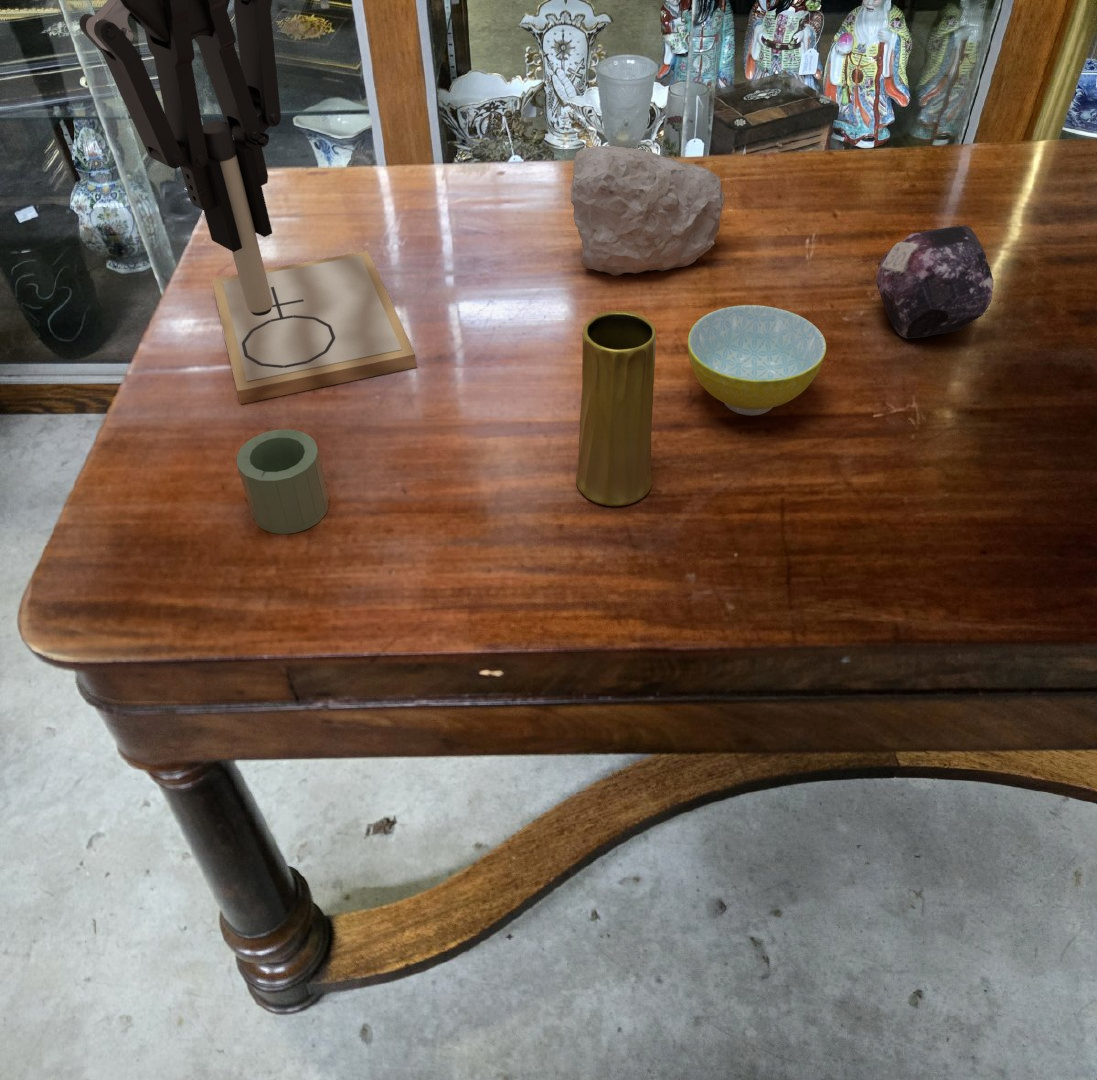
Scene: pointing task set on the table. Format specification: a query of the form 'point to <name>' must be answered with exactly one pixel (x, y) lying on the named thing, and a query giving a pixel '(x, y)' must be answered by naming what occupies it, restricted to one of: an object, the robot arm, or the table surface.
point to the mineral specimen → (935, 282)
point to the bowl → (755, 356)
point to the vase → (616, 408)
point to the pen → (240, 219)
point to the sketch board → (312, 328)
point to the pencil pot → (283, 481)
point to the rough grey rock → (642, 209)
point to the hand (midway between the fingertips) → (242, 236)
